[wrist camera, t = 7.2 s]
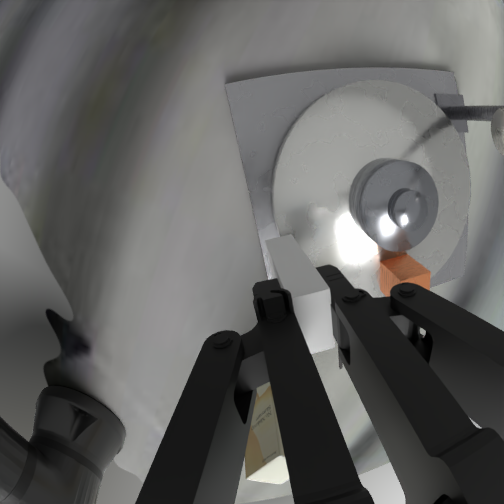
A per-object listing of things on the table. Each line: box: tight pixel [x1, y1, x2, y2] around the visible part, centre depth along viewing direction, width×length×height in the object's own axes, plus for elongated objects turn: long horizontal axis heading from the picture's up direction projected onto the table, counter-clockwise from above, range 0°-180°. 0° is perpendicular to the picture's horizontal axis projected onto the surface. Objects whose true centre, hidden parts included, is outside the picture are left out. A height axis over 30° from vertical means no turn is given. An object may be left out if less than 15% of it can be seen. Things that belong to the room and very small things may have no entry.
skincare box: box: [245, 382, 289, 484], centre depth 27 cm, size 6×4×12 cm
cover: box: [349, 158, 439, 252], centre depth 21 cm, size 7×7×4 cm
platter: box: [272, 80, 471, 298], centre depth 21 cm, size 20×20×5 cm
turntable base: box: [225, 67, 468, 288], centre depth 25 cm, size 23×23×1 cm
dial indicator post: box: [435, 93, 504, 156], centre depth 17 cm, size 4×6×13 cm
